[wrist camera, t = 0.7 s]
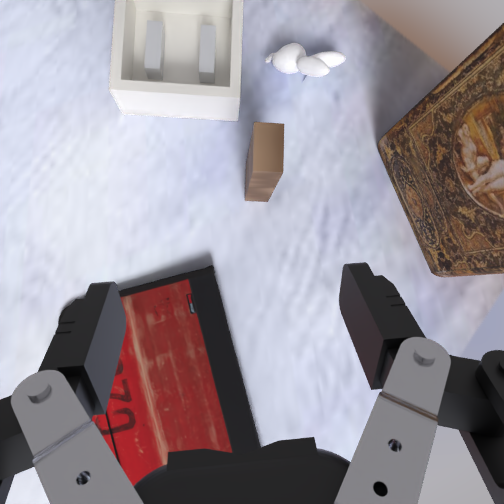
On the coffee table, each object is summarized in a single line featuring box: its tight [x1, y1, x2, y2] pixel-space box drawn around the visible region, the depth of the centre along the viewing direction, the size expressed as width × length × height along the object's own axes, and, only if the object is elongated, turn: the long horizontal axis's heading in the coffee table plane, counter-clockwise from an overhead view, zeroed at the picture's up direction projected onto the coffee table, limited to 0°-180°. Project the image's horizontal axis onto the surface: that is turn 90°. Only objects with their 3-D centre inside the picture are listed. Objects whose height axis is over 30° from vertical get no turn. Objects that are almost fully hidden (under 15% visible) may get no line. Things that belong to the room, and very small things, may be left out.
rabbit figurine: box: [265, 43, 346, 77], centre depth 40 cm, size 6×4×8 cm
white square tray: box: [109, 0, 243, 121], centre depth 39 cm, size 12×12×5 cm
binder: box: [58, 265, 261, 486], centre depth 37 cm, size 16×2×21 cm
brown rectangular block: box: [245, 122, 284, 202], centre depth 36 cm, size 2×4×10 cm, turn 178°
